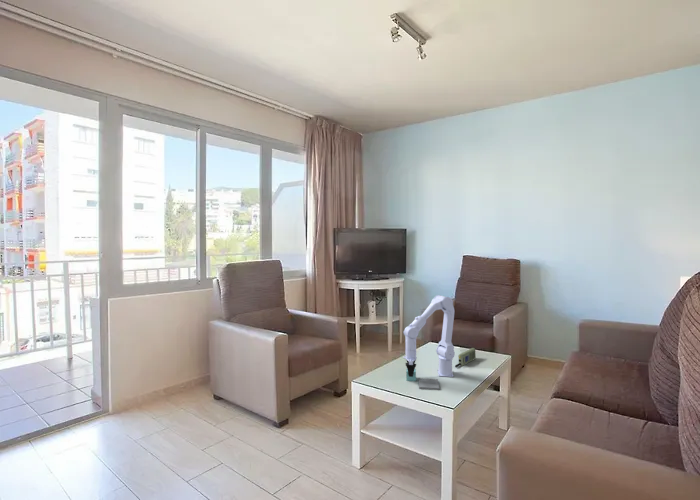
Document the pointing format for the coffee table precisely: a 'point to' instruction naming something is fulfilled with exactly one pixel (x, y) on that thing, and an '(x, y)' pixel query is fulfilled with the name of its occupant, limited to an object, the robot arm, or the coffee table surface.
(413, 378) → the teal block
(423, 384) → the slate mat
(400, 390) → the coffee table surface
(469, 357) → the handheld radio
